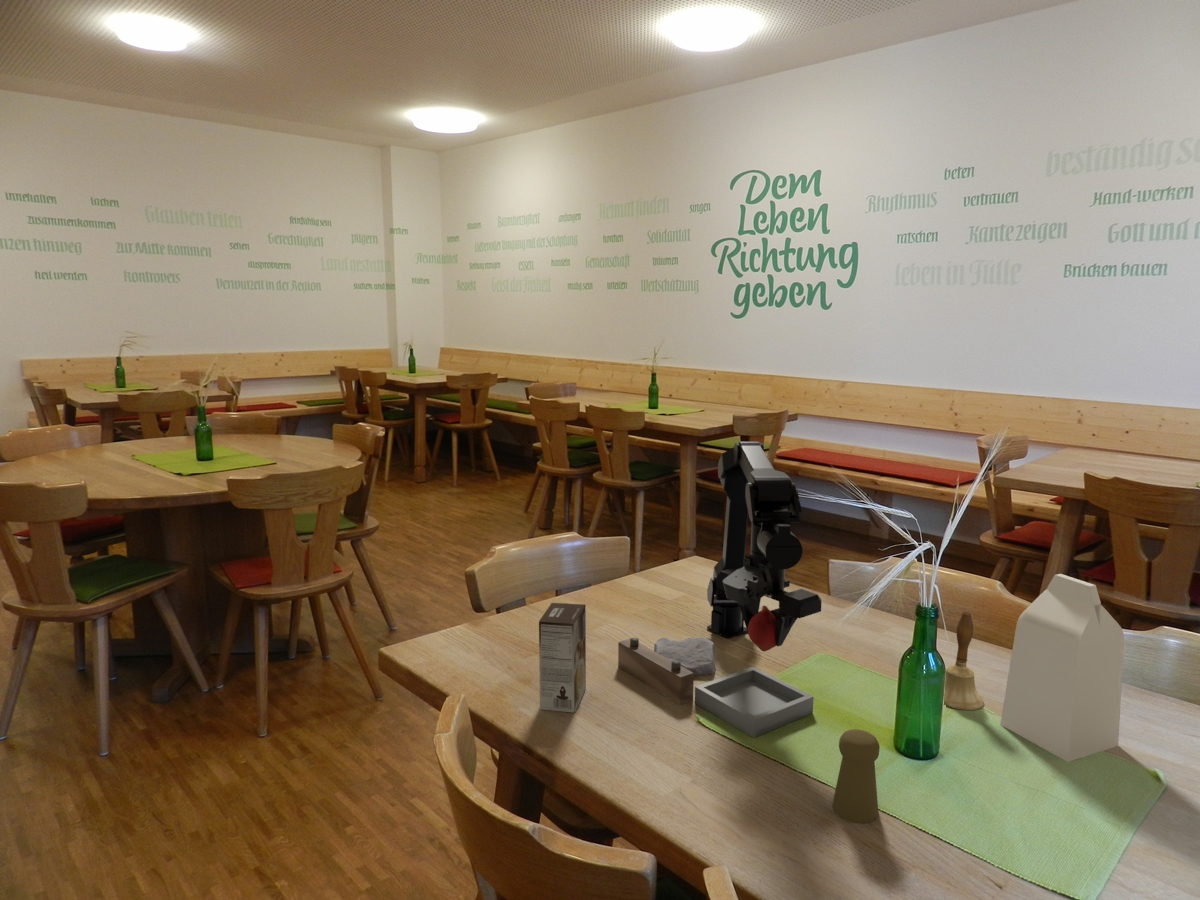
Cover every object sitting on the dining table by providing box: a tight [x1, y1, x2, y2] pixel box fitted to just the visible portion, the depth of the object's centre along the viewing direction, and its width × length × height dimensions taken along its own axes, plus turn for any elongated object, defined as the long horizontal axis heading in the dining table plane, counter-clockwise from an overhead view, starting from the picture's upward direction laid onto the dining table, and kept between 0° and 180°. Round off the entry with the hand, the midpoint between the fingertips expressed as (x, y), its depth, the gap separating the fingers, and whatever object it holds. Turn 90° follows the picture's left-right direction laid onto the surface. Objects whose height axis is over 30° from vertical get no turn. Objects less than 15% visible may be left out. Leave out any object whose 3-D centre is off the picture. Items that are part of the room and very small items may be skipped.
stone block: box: [653, 637, 717, 676], centre depth 154 cm, size 12×5×10 cm
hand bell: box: [943, 611, 985, 711], centre depth 139 cm, size 8×8×16 cm
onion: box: [747, 605, 777, 653], centre depth 135 cm, size 6×6×8 cm
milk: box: [999, 573, 1125, 763], centre depth 126 cm, size 12×12×26 cm
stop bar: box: [617, 637, 695, 705], centre depth 146 cm, size 3×18×6 cm, turn 35°
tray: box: [694, 666, 815, 739], centre depth 137 cm, size 14×14×3 cm
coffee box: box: [538, 602, 587, 713], centre depth 138 cm, size 9×6×16 cm
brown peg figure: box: [831, 728, 880, 824], centre depth 108 cm, size 6×6×11 cm
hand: (764, 639), depth 135 cm, fingers closed on onion, 6 cm apart
